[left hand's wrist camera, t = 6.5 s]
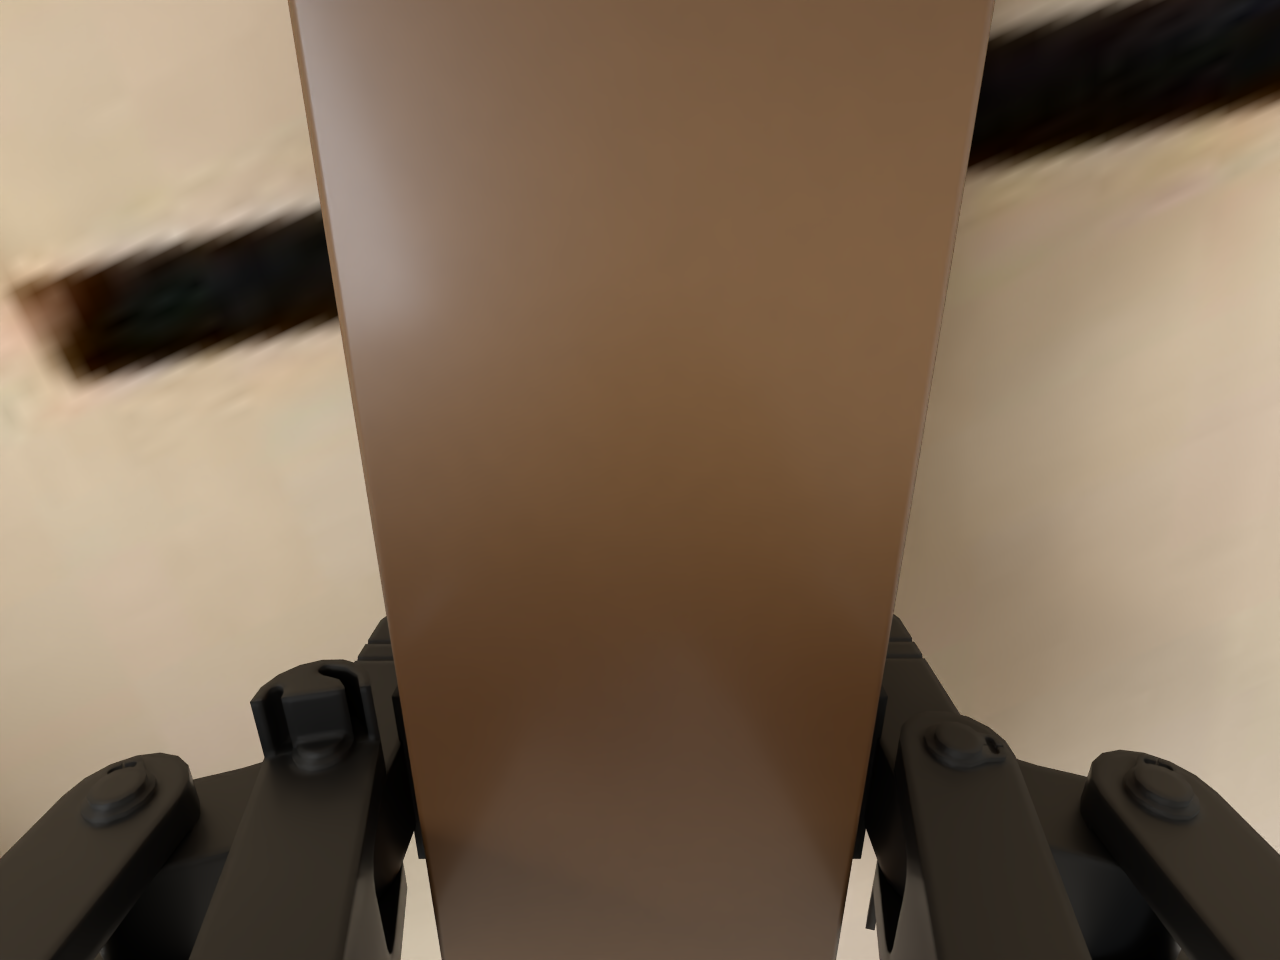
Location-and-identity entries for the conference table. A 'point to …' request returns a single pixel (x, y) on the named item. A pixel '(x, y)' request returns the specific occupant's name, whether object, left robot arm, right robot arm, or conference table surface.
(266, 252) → the conference table surface
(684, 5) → the post
